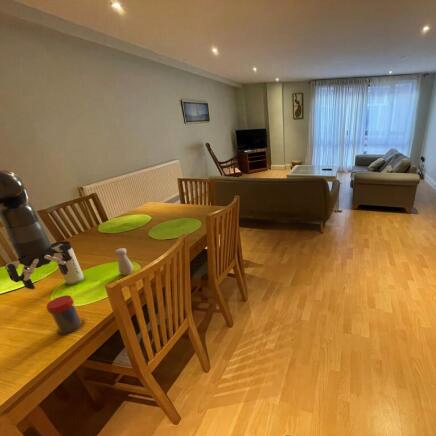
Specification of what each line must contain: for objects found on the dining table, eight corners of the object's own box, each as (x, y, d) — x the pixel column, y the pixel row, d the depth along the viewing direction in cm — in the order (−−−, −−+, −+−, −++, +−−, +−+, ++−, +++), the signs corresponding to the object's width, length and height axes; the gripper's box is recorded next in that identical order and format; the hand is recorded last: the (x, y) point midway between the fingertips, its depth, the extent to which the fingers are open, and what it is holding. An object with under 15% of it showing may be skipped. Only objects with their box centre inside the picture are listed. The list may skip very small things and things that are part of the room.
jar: (65, 336, 83) (53, 311, 78) (56, 330, 85) (44, 306, 81) (85, 323, 88) (75, 299, 83) (76, 318, 90) (65, 295, 86)
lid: (55, 316, 79) (52, 310, 78) (45, 310, 81) (42, 304, 80) (77, 303, 84) (75, 298, 83) (67, 298, 87) (65, 293, 86)
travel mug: (65, 280, 111) (48, 242, 103) (83, 275, 115) (68, 238, 108) (66, 287, 107) (48, 248, 99) (84, 281, 111) (69, 242, 103)
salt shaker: (137, 270, 119) (130, 247, 114) (127, 277, 114) (119, 253, 109) (127, 268, 120) (120, 245, 115) (117, 275, 115) (109, 251, 110)
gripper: (0, 250, 65) (26, 297, 71) (63, 229, 77) (80, 271, 83) (-12, 244, 68) (13, 291, 74) (51, 226, 80) (68, 267, 86)
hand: (49, 280), depth 79 cm, fingers open, 8 cm apart
